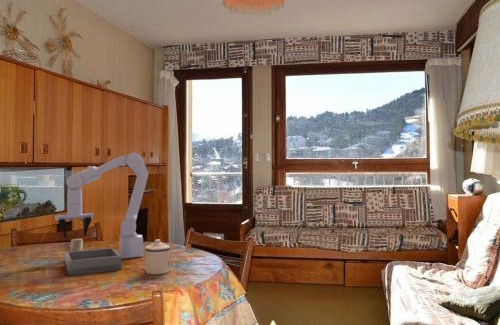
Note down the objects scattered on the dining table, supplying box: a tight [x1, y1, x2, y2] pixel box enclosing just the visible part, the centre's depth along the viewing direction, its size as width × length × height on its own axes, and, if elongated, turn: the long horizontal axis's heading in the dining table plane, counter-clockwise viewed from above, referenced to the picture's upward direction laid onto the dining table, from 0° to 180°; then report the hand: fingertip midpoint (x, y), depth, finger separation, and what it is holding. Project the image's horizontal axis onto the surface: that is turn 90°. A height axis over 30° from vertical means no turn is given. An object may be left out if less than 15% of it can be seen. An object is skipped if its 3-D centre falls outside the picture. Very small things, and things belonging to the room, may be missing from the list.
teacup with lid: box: [144, 238, 171, 275], centre depth 154 cm, size 12×9×12 cm
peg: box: [70, 238, 84, 252], centre depth 174 cm, size 4×4×8 cm
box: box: [64, 247, 122, 276], centre depth 160 cm, size 18×18×5 cm
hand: (74, 236), depth 173 cm, fingers open, 7 cm apart
